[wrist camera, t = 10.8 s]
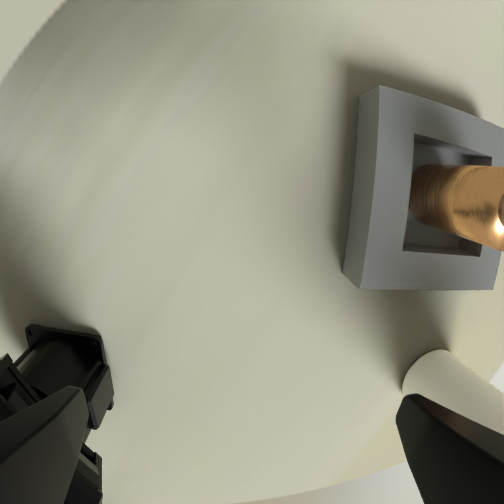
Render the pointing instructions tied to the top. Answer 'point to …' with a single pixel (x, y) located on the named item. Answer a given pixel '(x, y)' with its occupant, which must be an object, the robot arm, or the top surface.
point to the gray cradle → (398, 192)
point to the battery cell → (460, 201)
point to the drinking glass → (456, 388)
